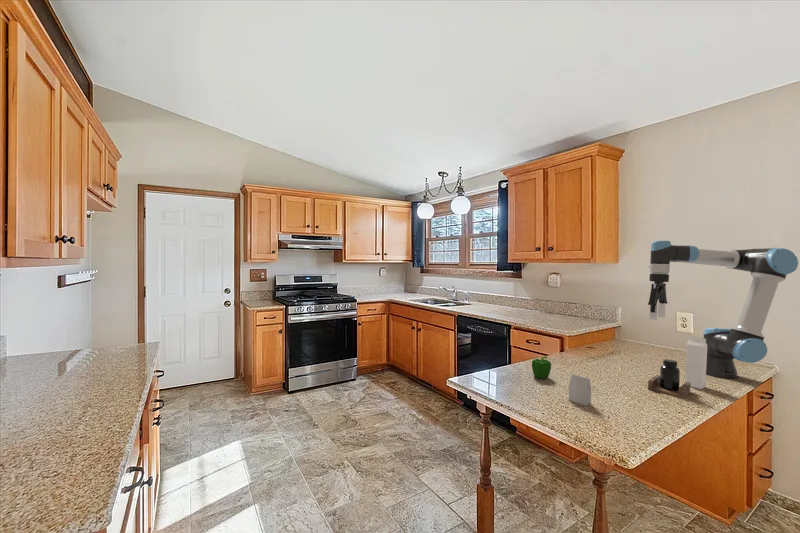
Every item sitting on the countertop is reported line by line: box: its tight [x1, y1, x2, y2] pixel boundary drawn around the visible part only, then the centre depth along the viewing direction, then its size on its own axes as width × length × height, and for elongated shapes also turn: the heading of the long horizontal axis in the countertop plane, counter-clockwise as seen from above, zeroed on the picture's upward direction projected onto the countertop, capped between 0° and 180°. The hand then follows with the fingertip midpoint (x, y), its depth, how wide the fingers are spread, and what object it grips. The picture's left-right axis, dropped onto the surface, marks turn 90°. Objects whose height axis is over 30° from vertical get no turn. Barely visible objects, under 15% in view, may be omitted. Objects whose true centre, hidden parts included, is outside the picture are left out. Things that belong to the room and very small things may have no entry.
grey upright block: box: [568, 373, 592, 407], centre depth 142 cm, size 4×7×10 cm, turn 36°
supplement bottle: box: [659, 358, 681, 391], centre depth 157 cm, size 7×7×12 cm
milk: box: [684, 336, 707, 390], centre depth 164 cm, size 6×6×22 cm
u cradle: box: [647, 374, 691, 399], centre depth 158 cm, size 12×12×4 cm
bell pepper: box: [531, 355, 552, 379], centre depth 170 cm, size 8×8×10 cm
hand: (657, 318), depth 174 cm, fingers open, 13 cm apart
